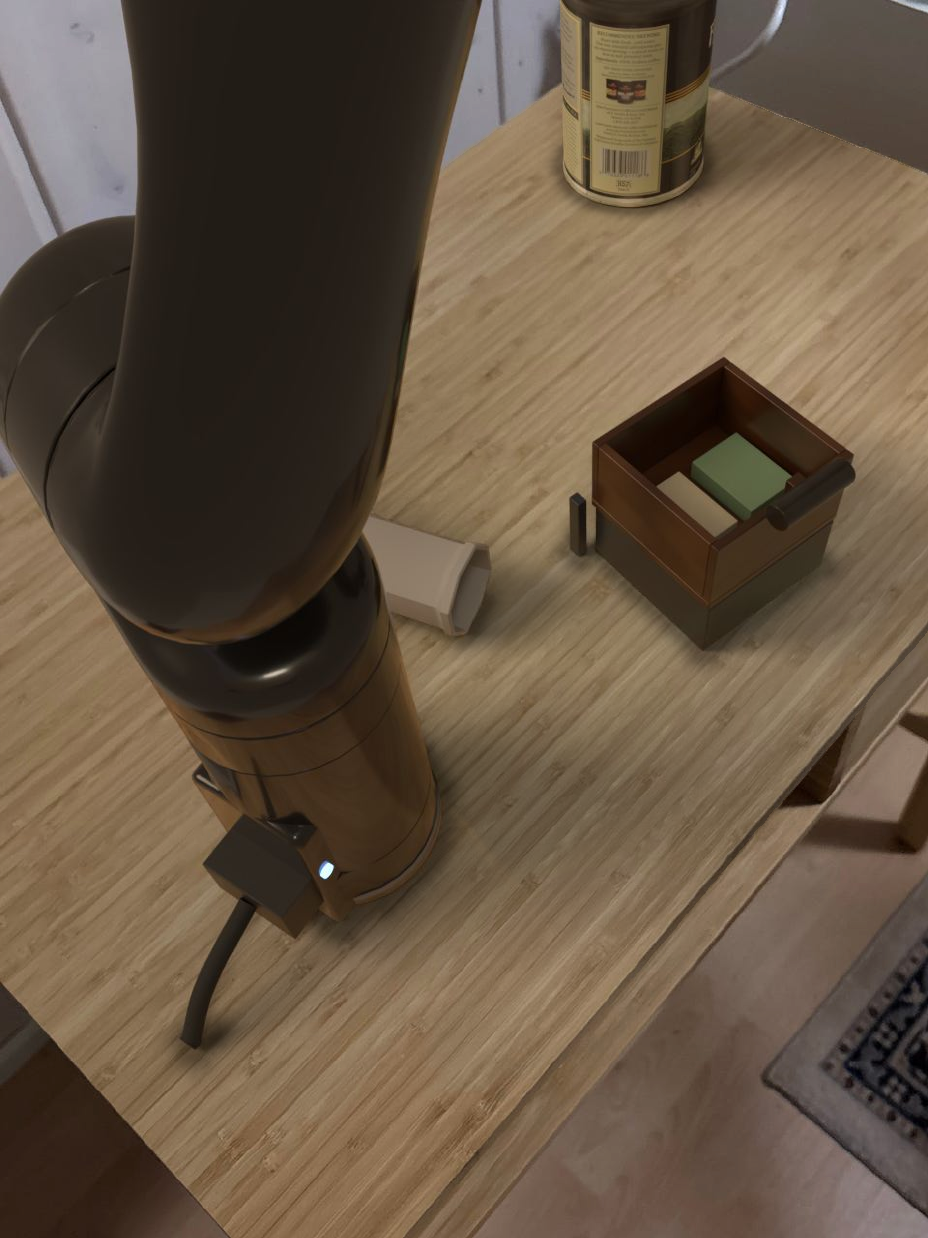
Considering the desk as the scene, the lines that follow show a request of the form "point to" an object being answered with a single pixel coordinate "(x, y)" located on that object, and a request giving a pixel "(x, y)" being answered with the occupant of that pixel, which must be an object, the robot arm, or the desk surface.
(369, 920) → the desk surface
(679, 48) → the coffee can
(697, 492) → the block
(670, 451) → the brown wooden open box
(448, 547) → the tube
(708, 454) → the block
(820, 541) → the stand
